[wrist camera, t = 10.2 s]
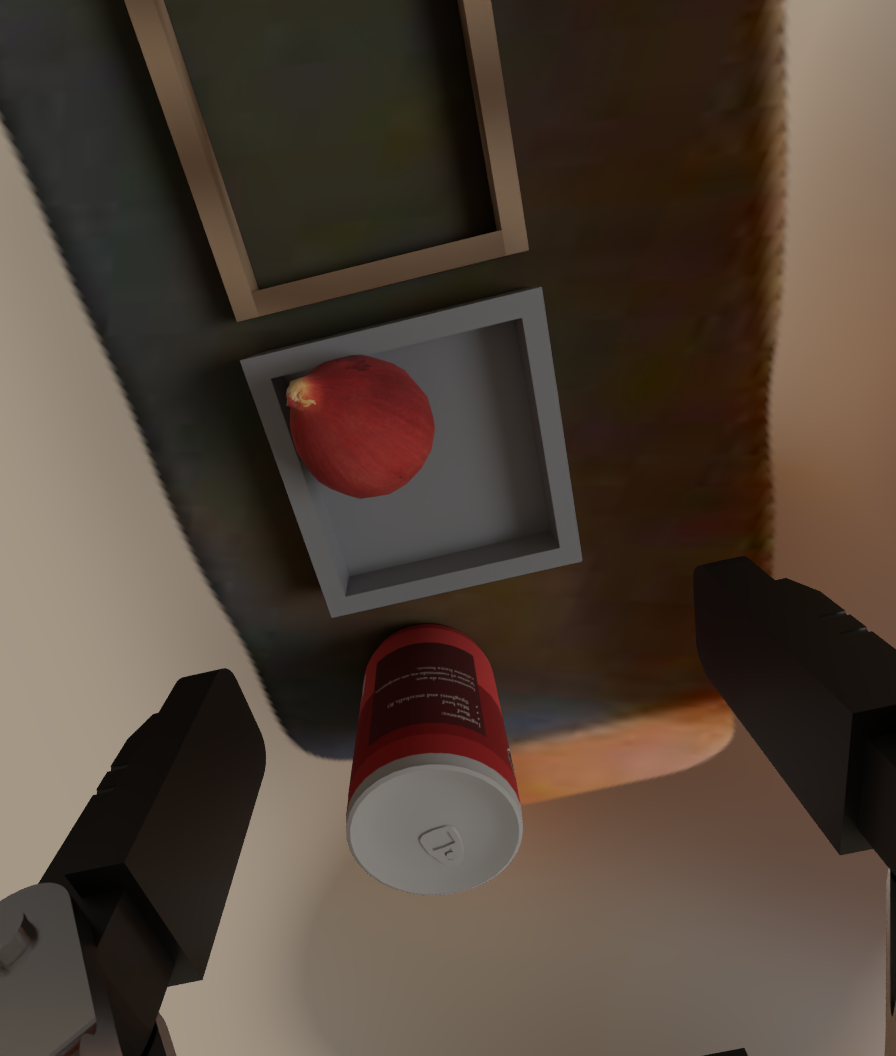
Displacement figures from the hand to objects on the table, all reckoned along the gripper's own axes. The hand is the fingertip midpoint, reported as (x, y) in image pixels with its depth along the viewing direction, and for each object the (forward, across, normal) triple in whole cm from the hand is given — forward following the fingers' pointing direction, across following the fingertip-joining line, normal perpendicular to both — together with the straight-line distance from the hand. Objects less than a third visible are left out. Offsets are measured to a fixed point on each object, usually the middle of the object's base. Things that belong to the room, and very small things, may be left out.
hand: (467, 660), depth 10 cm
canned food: (+20, +4, +16) cm, 26 cm away
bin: (+20, +1, +2) cm, 20 cm away
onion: (+18, +1, +2) cm, 19 cm away
